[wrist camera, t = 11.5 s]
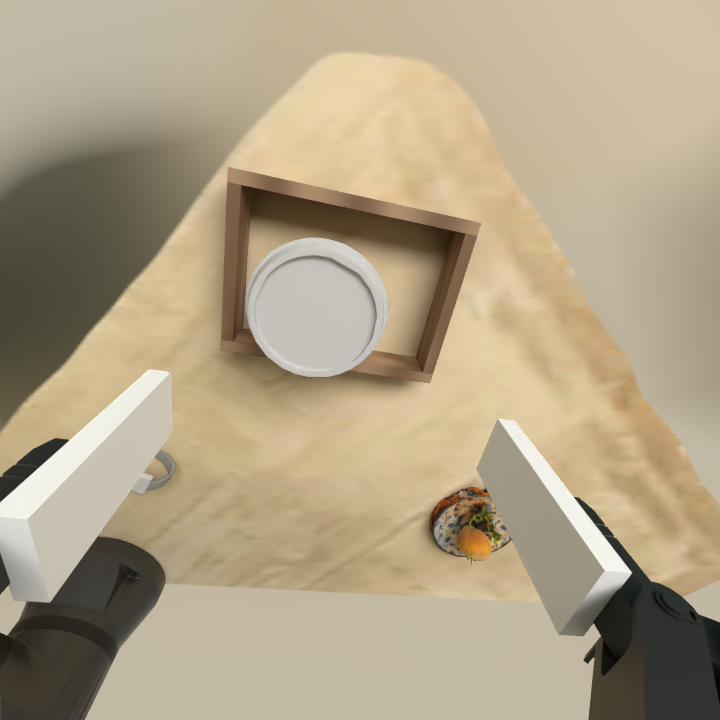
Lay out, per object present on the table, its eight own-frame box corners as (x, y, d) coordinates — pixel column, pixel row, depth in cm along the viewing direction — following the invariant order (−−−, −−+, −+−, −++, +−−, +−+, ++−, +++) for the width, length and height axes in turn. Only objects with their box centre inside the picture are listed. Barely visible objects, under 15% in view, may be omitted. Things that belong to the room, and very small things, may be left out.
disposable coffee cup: (271, 318, 35) (238, 374, 24) (277, 215, 31) (242, 227, 20) (365, 332, 36) (375, 391, 25) (384, 234, 32) (404, 254, 21)
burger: (474, 556, 52) (494, 611, 45) (411, 527, 49) (422, 581, 42) (533, 506, 48) (564, 557, 41) (469, 470, 45) (491, 519, 38)
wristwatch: (185, 453, 41) (165, 485, 37) (176, 469, 42) (156, 502, 38) (132, 430, 40) (105, 461, 35) (124, 447, 41) (96, 479, 36)
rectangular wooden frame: (231, 336, 35) (220, 349, 32) (240, 170, 29) (228, 167, 26) (422, 367, 38) (429, 383, 35) (467, 220, 32) (481, 223, 28)
